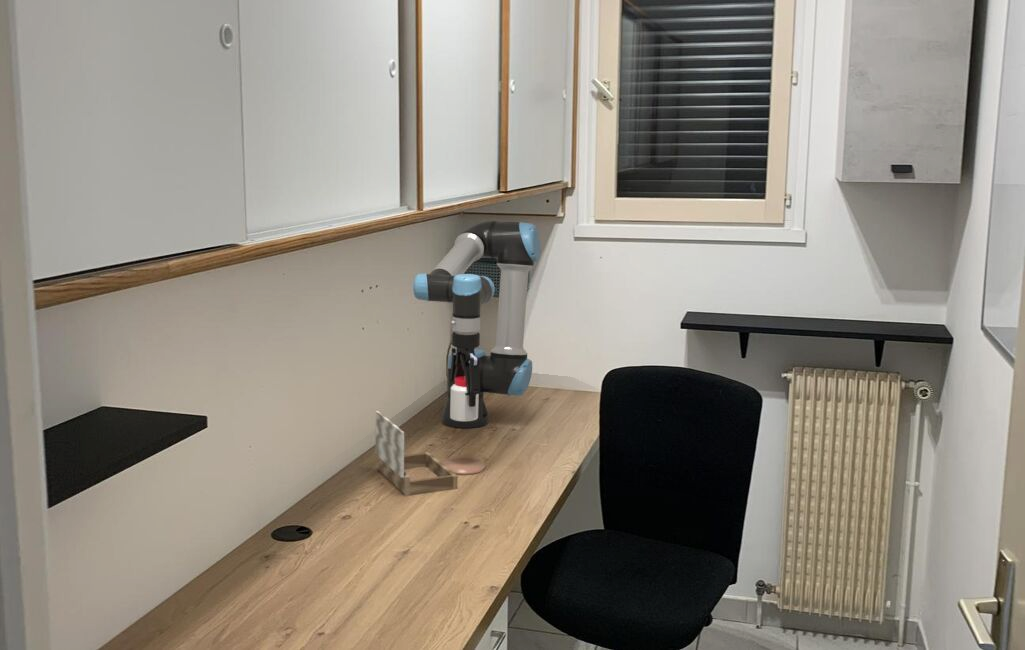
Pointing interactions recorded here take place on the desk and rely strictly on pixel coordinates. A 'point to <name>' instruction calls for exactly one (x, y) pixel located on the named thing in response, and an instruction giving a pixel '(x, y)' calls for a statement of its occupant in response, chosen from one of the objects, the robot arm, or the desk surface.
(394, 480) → the frame
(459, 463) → the saucer
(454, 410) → the pill bottle
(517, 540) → the desk surface
